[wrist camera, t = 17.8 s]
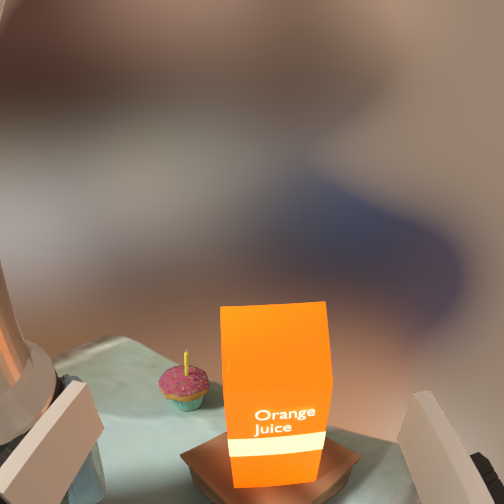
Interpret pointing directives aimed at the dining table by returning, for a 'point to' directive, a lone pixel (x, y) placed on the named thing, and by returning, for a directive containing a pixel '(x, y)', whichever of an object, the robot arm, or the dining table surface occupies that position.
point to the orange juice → (275, 391)
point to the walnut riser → (271, 497)
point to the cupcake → (184, 385)
